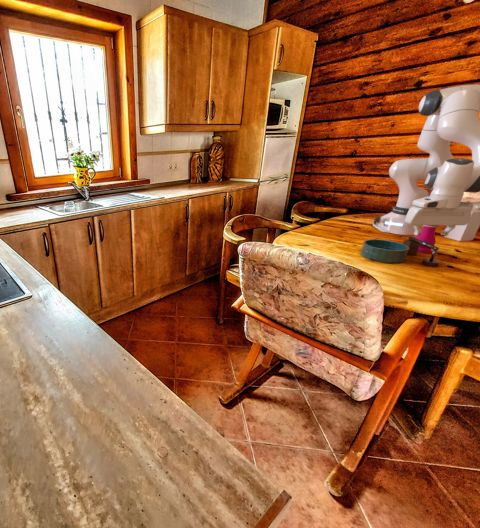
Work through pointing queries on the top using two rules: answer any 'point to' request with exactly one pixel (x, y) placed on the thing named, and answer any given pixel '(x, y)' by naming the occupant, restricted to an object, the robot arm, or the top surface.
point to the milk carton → (467, 226)
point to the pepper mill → (427, 237)
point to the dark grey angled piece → (431, 261)
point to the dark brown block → (411, 247)
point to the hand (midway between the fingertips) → (430, 235)
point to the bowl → (384, 251)
